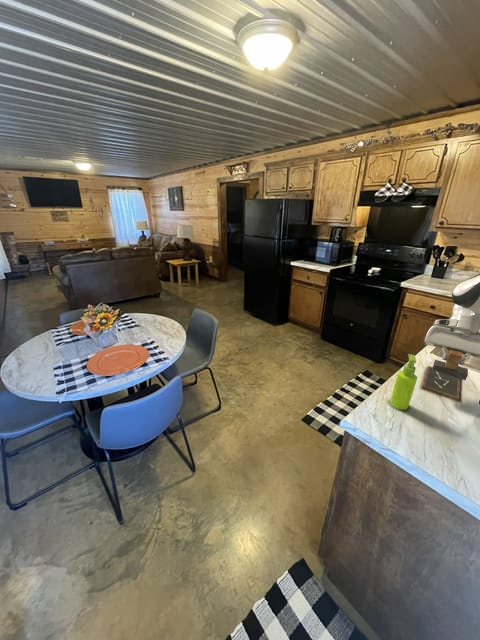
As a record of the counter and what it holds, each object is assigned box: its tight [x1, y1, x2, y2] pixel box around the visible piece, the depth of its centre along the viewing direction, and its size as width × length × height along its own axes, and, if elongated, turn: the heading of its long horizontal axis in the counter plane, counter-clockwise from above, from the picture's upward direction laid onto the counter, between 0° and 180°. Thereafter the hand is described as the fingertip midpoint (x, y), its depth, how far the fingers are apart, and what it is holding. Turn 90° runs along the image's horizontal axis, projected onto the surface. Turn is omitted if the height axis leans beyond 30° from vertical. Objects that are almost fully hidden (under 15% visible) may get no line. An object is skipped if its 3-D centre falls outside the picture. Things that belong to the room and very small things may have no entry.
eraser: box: [432, 349, 469, 381], centre depth 96 cm, size 10×5×8 cm, turn 51°
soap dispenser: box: [389, 353, 418, 411], centre depth 95 cm, size 6×7×20 cm
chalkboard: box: [421, 365, 461, 401], centre depth 111 cm, size 20×12×1 cm, turn 141°
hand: (452, 361), depth 96 cm, fingers closed on eraser, 3 cm apart
